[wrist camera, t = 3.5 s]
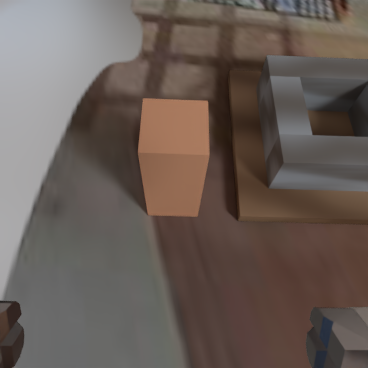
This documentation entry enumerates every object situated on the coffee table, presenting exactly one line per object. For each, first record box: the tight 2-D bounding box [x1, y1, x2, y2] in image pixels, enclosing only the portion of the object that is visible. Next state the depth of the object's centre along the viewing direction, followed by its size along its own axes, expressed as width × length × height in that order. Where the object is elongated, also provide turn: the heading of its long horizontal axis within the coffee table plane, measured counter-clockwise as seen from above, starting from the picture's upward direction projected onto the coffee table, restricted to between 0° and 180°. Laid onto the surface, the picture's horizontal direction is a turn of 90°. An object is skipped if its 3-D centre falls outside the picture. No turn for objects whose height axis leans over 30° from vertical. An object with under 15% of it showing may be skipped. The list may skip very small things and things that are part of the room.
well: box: [228, 55, 368, 224], centre depth 27 cm, size 16×16×5 cm
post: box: [138, 99, 209, 217], centre depth 23 cm, size 4×4×9 cm
